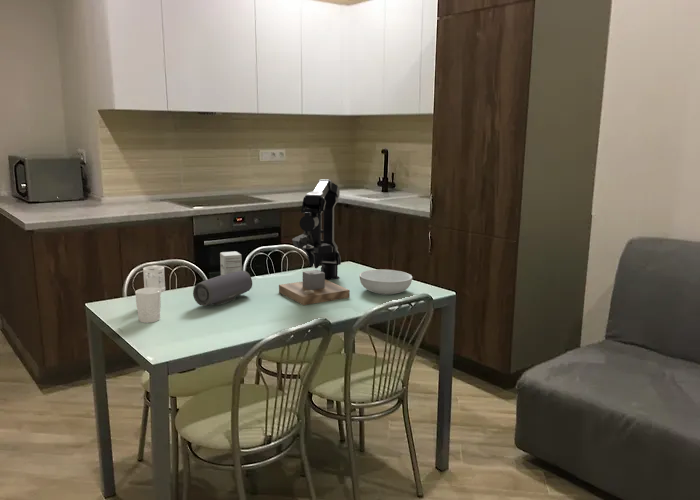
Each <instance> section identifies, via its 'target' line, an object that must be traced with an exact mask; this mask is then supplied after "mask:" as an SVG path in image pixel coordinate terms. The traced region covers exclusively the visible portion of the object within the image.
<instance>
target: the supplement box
mask: <svg viewBox="0 0 700 500" xmlns="http://www.w3.org/2000/svg"><path fill="white" fill-rule="evenodd" d="M219 257H220V258H219V259H220V260H219V262H220V276H221V275H224V274H228V273H232V272H237V271H243V265H242V261H243V260H242V254H241V253H240V252H238V251H235V250H234V251H222V252H220V253H219Z"/></svg>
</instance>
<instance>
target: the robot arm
mask: <svg viewBox="0 0 700 500" xmlns="http://www.w3.org/2000/svg"><path fill="white" fill-rule="evenodd" d="M340 191H341V190H340V188H339V186H338V185H337V184H336V183H334V182H333V181H332V180H331V179H328V178H327V179H323V178H322V179H318V182H317V184H316V186H315V188H314V189H313V191H310V192H307V193H306V194H305V196H304V197H303V198H302V204H301V211H300V213H302V214H304V215H303V216H302V217H301V218H300V220H299V227H300V228H301V230H302V231H303V233H302V234H300V235H297V236H295V237H293V238H292V239H291V240H292V241H291V242H292V243H293V247H294V248H297V249H300V250H303V251H304V253H305V254H306V257H307V260H308V264H309V266H310V267H314V269H318V268H319V267H320V265H321V267H320V271H321V272H324V273H325V280H328V281H330V280H335V279H340V276H338V270H339V269H338V266H340V265H342V263H341V262H342V261H341V260H342V259H341V255H340V252H339V250H338V249H339V247H338V245H337V244H336V241H335V206H336V204H337V203H338V201H339V198H340V194H341V193H340ZM322 214H323V216H322ZM322 218H323V219H322ZM322 221H323V229H322ZM322 235H323V239H322Z"/></svg>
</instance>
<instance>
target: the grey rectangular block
mask: <svg viewBox="0 0 700 500" xmlns="http://www.w3.org/2000/svg"><path fill="white" fill-rule="evenodd" d="M325 280H326V279H325V273H324V272H321V270H319V269H313V270H305V271H302V281H303V287H304V288H306V289H309V290H315V289H322V288H325Z"/></svg>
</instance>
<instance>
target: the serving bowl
mask: <svg viewBox="0 0 700 500" xmlns="http://www.w3.org/2000/svg"><path fill="white" fill-rule="evenodd" d="M359 281H360V283H361V285H362V286H363V288H364V289H365V290H368V291H369V292H372V293H375V294H378V295H382V296H383V295H385V296H387V295H388V296H389V295H395V294H399V293H403V292H405V291H407V290H408V289H409V288H410V286H411V284H412V281H413V276H412V274H410V273H407V272H405V271H401V270H395V269H382V268H381V269H369V270H368V269H367V270H365V271H362V272H360V273H359Z"/></svg>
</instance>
